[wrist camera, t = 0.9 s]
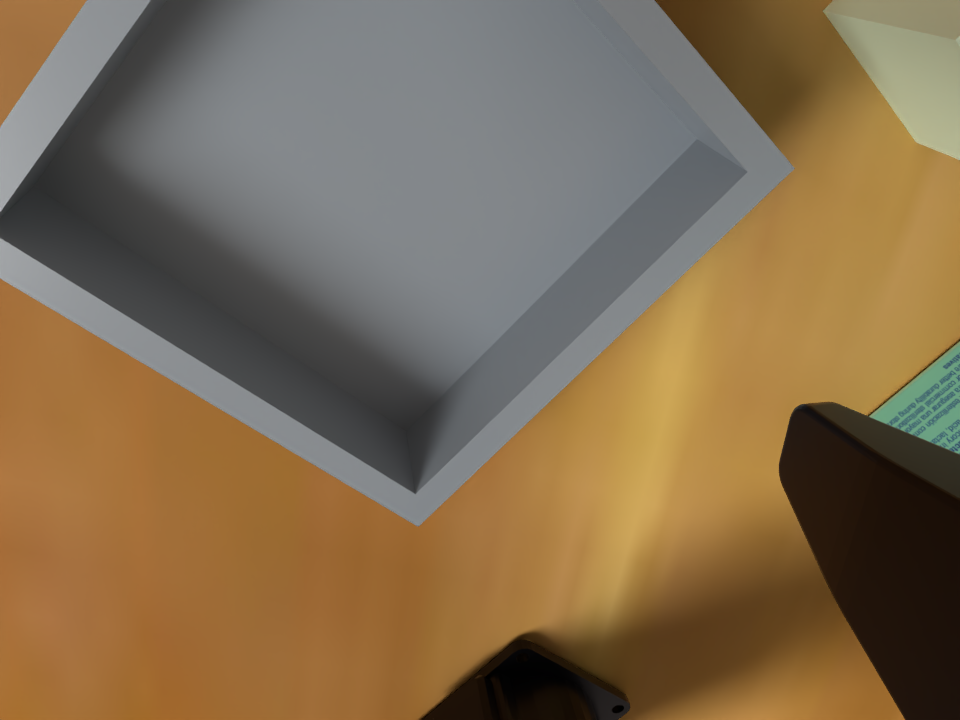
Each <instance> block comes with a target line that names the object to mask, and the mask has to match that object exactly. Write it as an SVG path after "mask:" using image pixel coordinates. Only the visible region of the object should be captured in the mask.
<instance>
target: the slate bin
mask: <svg viewBox="0 0 960 720" xmlns="http://www.w3.org/2000/svg"><path fill="white" fill-rule="evenodd" d="M794 169H795V168H794V167H793V166H792V165H791V163H790V162H789V161H788V160H787V159H786V157H785V156H784V155H783V154H782V153H781V151H780V150H779V149H778V148H777V147H776V145H775V144H774V143H773V142H772V141H771V139H770V138H769V137H768V136H767V135H766V133H765V132H764V131H763V130H762V129H761V127H760V126H759V125H758V124H757V123H756V121H755V120H754V119H753V118H752V117H751V115H750V114H749V113H748V112H747V111H746V109H745V108H744V107H743V106H742V105H741V103H740V102H739V101H738V100H737V99H736V97H735V96H734V95H733V94H732V93H731V91H730V90H729V89H728V88H727V87H726V85H725V84H724V83H723V82H722V81H721V79H720V78H719V77H718V76H717V75H716V73H715V72H714V71H713V70H712V69H711V67H710V66H709V65H708V64H707V63H706V61H705V60H704V59H703V58H702V57H701V55H700V54H699V53H698V52H697V51H696V49H695V48H694V47H693V46H692V45H691V43H690V42H689V41H688V40H687V39H686V37H685V36H684V35H683V34H682V33H681V31H680V30H679V29H678V28H677V27H676V25H675V24H674V23H673V22H672V21H671V19H670V18H669V17H668V16H667V15H666V13H665V12H664V11H663V10H662V9H661V7H660V6H659V5H658V4H657V3H656V1H655V0H87V1H86V3H85V4H84V6H83V7H82V8H81V10H80V11H79V13H78V14H77V16H76V17H75V19H74V20H73V22H72V23H71V25H70V26H69V27H68V29H67V30H66V32H65V33H64V35H63V36H62V38H61V39H60V41H59V42H58V44H57V45H56V46H55V48H54V49H53V51H52V52H51V54H50V55H49V57H48V58H47V60H46V61H45V63H44V64H43V65H42V67H41V68H40V70H39V71H38V73H37V74H36V76H35V77H34V79H33V80H32V82H31V83H30V84H29V86H28V87H27V89H26V90H25V92H24V93H23V95H22V96H21V98H20V99H19V101H18V102H17V103H16V105H15V106H14V108H13V109H12V111H11V112H10V114H9V115H8V117H7V118H6V120H5V121H4V123H3V124H2V125H1V127H0V279H2V280H4V281H5V282H7V283H9V284H10V285H12V286H14V287H15V288H17V289H19V290H20V291H22V292H24V293H26V294H27V295H29V296H31V297H32V298H34V299H36V300H37V301H39V302H41V303H42V304H44V305H46V306H47V307H49V308H51V309H52V310H54V311H56V312H58V313H59V314H61V315H63V316H64V317H66V318H68V319H69V320H71V321H73V322H74V323H76V324H78V325H79V326H81V327H83V328H84V329H86V330H88V331H90V332H91V333H93V334H95V335H96V336H98V337H100V338H101V339H103V340H105V341H106V342H108V343H110V344H111V345H113V346H115V347H116V348H118V349H120V350H122V351H123V352H125V353H127V354H128V355H130V356H132V357H133V358H135V359H137V360H138V361H140V362H142V363H143V364H145V365H147V366H148V367H150V368H152V369H154V370H155V371H157V372H159V373H160V374H162V375H164V376H165V377H167V378H169V379H170V380H172V381H174V382H175V383H177V384H179V385H180V386H182V387H184V388H186V389H187V390H189V391H191V392H192V393H194V394H196V395H197V396H199V397H201V398H202V399H204V400H206V401H207V402H209V403H211V404H212V405H214V406H216V407H217V408H219V409H221V410H223V411H224V412H226V413H228V414H229V415H231V416H233V417H234V418H236V419H238V420H239V421H241V422H243V423H244V424H246V425H248V426H249V427H251V428H253V429H255V430H256V431H258V432H260V433H261V434H263V435H265V436H266V437H268V438H270V439H271V440H273V441H275V442H276V443H278V444H280V445H281V446H283V447H285V448H287V449H288V450H290V451H292V452H293V453H295V454H297V455H298V456H300V457H302V458H303V459H305V460H307V461H308V462H310V463H312V464H313V465H315V466H317V467H319V468H320V469H322V470H324V471H325V472H327V473H329V474H330V475H332V476H334V477H335V478H337V479H339V480H340V481H342V482H344V483H345V484H347V485H349V486H351V487H352V488H354V489H356V490H357V491H359V492H361V493H362V494H364V495H366V496H367V497H369V498H371V499H372V500H374V501H376V502H377V503H379V504H381V505H383V506H384V507H386V508H388V509H389V510H391V511H393V512H394V513H396V514H398V515H399V516H401V517H403V518H404V519H406V520H408V521H409V522H411V523H413V524H415V525H416V526H419V525H421V524H422V523H423V522H424V521H425V520H426V519H427V518H428V517H429V516H430V515H431V514H432V513H433V512H434V511H435V510H436V509H437V508H438V507H439V506H440V505H442V504H443V503H444V502H445V501H446V500H447V499H448V498H449V497H450V496H451V495H452V494H453V493H454V492H455V491H456V490H457V489H458V488H459V487H460V486H461V485H463V484H464V483H465V482H466V481H467V480H468V479H469V478H470V477H471V476H472V475H473V474H474V473H475V472H476V471H477V470H478V469H479V468H480V467H481V466H483V465H484V464H485V463H486V462H487V461H488V460H489V459H490V458H491V457H492V456H493V455H494V454H495V453H496V452H497V451H498V450H499V449H500V448H501V447H502V446H504V445H505V444H506V443H507V442H508V441H509V440H510V439H511V438H512V437H513V436H514V435H515V434H516V433H517V432H518V431H519V430H520V429H521V428H522V427H524V426H525V425H526V424H527V423H528V422H529V421H530V420H531V419H532V418H533V417H534V416H535V415H536V414H537V413H538V412H539V411H540V410H541V409H542V408H543V407H545V406H546V405H547V404H548V403H549V402H550V401H551V400H552V399H553V398H554V397H555V396H556V395H557V394H558V393H559V392H560V391H561V390H562V389H563V388H564V387H566V386H567V385H568V384H569V383H570V382H571V381H572V380H573V379H574V378H575V377H576V376H577V375H578V374H579V373H580V372H581V371H582V370H583V369H584V368H586V367H587V366H588V365H589V364H590V363H591V362H592V361H593V360H594V359H595V358H596V357H597V356H598V355H599V354H600V353H601V352H602V351H603V350H604V349H605V348H607V347H608V346H609V345H610V344H611V343H612V342H613V341H614V340H615V339H616V338H617V337H618V336H619V335H620V334H621V333H622V332H623V331H624V330H625V329H626V328H628V327H629V326H630V325H631V324H632V323H633V322H634V321H635V320H636V319H637V318H638V317H639V316H640V315H641V314H642V313H643V312H644V311H645V310H646V309H648V308H649V307H650V306H651V305H652V304H653V303H654V302H655V301H656V300H657V299H658V298H659V297H660V296H661V295H662V294H663V293H664V292H665V291H666V290H667V289H669V288H670V287H671V286H672V285H673V284H674V283H675V282H676V281H677V280H678V279H679V278H680V277H681V276H682V275H683V274H684V273H685V272H686V271H687V270H689V269H690V268H691V267H692V266H693V265H694V264H695V263H696V262H697V261H698V260H699V259H700V258H701V257H702V256H703V255H704V254H705V253H706V252H707V251H708V250H710V249H711V248H712V247H713V246H714V245H715V244H716V243H717V242H718V241H719V240H720V239H721V238H722V237H723V236H724V235H725V234H726V233H727V232H728V231H729V230H731V229H732V228H733V227H734V226H735V225H736V224H737V223H738V222H739V221H740V220H741V219H742V218H743V217H744V216H745V215H746V214H747V213H748V212H749V211H751V210H752V209H753V208H754V207H755V206H756V205H757V204H758V203H759V202H760V201H761V200H762V199H763V198H764V197H765V196H766V195H767V194H768V193H769V192H770V191H772V190H773V189H774V188H775V187H776V186H777V185H778V184H779V183H780V182H781V181H782V180H783V179H784V178H785V177H786V176H787V175H788V174H789V173H790V172H792V171H793V170H794Z"/></svg>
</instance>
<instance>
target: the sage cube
mask: <svg viewBox="0 0 960 720" xmlns="http://www.w3.org/2000/svg"><path fill="white" fill-rule="evenodd" d="M823 12H824V14H825V15H826V16H827V18H828V19H829V21H830V22H831V23H832V25H833V26H834V28H835V29H836V30H837V32H838V33H839V35H840V36H841V37H842V39H843V40H844V42H845V43H846V44H847V46H848V47H849V49H850V50H851V51H852V53H853V54H854V56H855V57H856V58H857V60H858V61H859V63H860V64H861V66H862V67H863V68H864V70H865V71H866V73H867V74H868V75H869V77H870V78H871V80H872V81H873V82H874V84H875V85H876V87H877V88H878V89H879V91H880V92H881V94H882V95H883V96H884V98H885V99H886V101H887V102H888V103H889V105H890V106H891V108H892V109H893V110H894V112H895V113H896V115H897V116H898V117H899V119H900V120H901V122H902V123H903V125H904V126H905V127H906V129H907V130H908V132H909V133H910V134H911V136H912V137H913V139H914V140H915V141H916V142H917V143H919V144H921V145H924V146H926V147H929V148H931V149H934V150H936V151H939V152H941V153H944V154H946V155H949V156H951V157H953V158H956V159H958V160H960V0H833V1H832V2H831V3H830V4H829V5H828V6H827V7H826V8H825V9H824V10H823Z"/></svg>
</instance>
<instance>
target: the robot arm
mask: <svg viewBox="0 0 960 720" xmlns="http://www.w3.org/2000/svg"><path fill="white" fill-rule="evenodd" d="M779 476H780V480H781V483H782V486H783V488H784V491H785V493H786V495H787V497H788V499H789V502H790V504H791V506H792V508H793V510H794V513H795V515H796V517H797V519H798V521H799V524H800V526H801V528H802V530H803V532H804V535H805V537H806V539H807V541H808V543H809V546H810V548H811V550H812V552H813V554H814V557H815V559H816V561H817V563H818V565H819V568H820V570H821V572H822V574H823V576H824V579H825V581H826V583H827V585H828V587H829V589H830V591H831V593H832V595H833V597H834V598H835V600H836V602H837V604H838V606H839V608H840V609H841V611H842V613H843V615H844V617H845V618H846V620H847V622H848V623H849V625H850V627H851V628H852V630H853V632H854V634H855V635H856V637H857V639H858V640H859V642H860V644H861V645H862V647H863V649H864V651H865V652H866V654H867V656H868V657H869V659H870V661H871V662H872V664H873V666H874V668H875V669H876V671H877V673H878V674H879V676H880V678H881V679H882V681H883V683H884V685H885V686H886V688H887V690H888V691H889V693H890V695H891V696H892V698H893V700H894V702H895V703H896V705H897V707H898V708H899V710H900V712H901V713H902V715H903V717H904V719H905V720H960V454H958V453H956V452H953V451H951V450H948V449H946V448H943V447H941V446H939V445H936V444H934V443H931V442H929V441H927V440H924V439H922V438H919V437H917V436H914V435H912V434H910V433H907V432H905V431H902V430H900V429H898V428H895V427H893V426H890V425H888V424H886V423H883V422H881V421H878V420H876V419H873V418H871V417H869V416H866V415H864V414H861V413H859V412H857V411H854V410H852V409H849V408H847V407H844V406H842V405H840V404H837V403H834V402H821V403H809V404H801V405H799V406H797V407H796V408H795V409H794V411H793V412H792V414H791V417H790V421H789V425H788V429H787V433H786V437H785V441H784V445H783V449H782V453H781V457H780V462H779ZM629 709H630V704H629V702H628V699H627V696H626V695H625V694H624V693H622V692H620V691H619V690H617V689H615V688H613V687H611V686H610V685H608V684H606V683H604V682H602V681H601V680H599V679H597V678H595V677H593V676H592V675H590V674H588V673H586V672H584V671H583V670H581V669H579V668H577V667H575V666H574V665H572V664H570V663H568V662H566V661H564V660H563V659H561V658H559V657H557V656H555V655H554V654H552V653H550V652H548V651H546V650H545V649H543V648H541V647H539V646H537V645H536V644H534V643H532V642H530V641H527V640H519V641H515V642H514V643H512V644H511V645H510V646H508V647H507V648H506V649H505V650H504V651H503V652H501V653H500V654H499V655H498V656H497V657H496V658H494V659H493V660H492V661H491V662H490V663H488V664H487V665H486V666H485V667H484V668H483V669H481V670H480V671H479V672H478V673H477V674H476V675H474V676H473V677H472V678H471V679H470V680H469V681H467V682H466V683H465V684H464V685H463V686H462V687H460V688H459V689H458V690H457V691H456V692H454V693H453V694H452V695H451V696H450V697H449V698H447V699H446V700H445V701H444V702H443V703H442V704H440V705H439V706H438V707H437V708H436V709H435V710H433V711H432V712H431V713H430V714H429V715H427V716H426V717H425V718H424V719H423V720H618V719H619V718H621V717H622V716H623V715H625V714H626V713H627V712H628V711H629Z"/></svg>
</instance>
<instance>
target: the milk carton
mask: <svg viewBox="0 0 960 720" xmlns="http://www.w3.org/2000/svg"><path fill="white" fill-rule="evenodd" d="M869 417H871V418H873V419H876V420H878V421H881V422H883V423H886V424H888V425H890V426H893V427H895V428H898V429H900V430H902V431H905V432H907V433H910V434H912V435H914V436H917V437H919V438H922V439H924V440H927V441H929V442H931V443H934V444H936V445H939V446H941V447H943V448H946V449H948V450H951V451H953V452H956V453H958V454H960V341H959V342H958V343H957V344H956V345H954V346H953V347H952V348H951V349H950V350H948V351H947V352H946V353H945V354H944V355H942V356H941V357H940V358H939V359H937V360H936V361H935V362H934V363H933V364H931V365H930V366H929V367H928V368H927V369H925V370H924V371H923V372H922V373H921V374H919V375H918V376H917V377H916V378H915V379H913V380H912V381H911V382H910V383H909V384H907V385H906V386H905V387H904V388H903V389H901V390H900V391H899V392H898V393H896V394H895V395H894V396H893V397H892V398H890V399H889V400H888V401H887V402H886V403H884V404H883V405H882V406H881V407H880V408H878V409H877V410H876V411H875V412H874V413H872V414H871V415H870V416H869Z"/></svg>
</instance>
